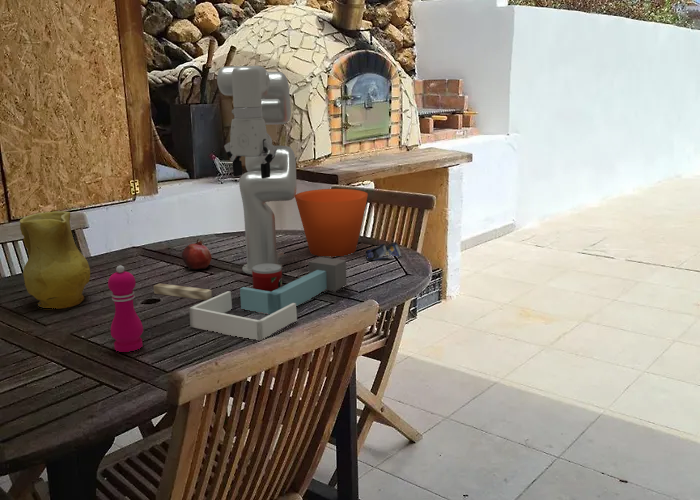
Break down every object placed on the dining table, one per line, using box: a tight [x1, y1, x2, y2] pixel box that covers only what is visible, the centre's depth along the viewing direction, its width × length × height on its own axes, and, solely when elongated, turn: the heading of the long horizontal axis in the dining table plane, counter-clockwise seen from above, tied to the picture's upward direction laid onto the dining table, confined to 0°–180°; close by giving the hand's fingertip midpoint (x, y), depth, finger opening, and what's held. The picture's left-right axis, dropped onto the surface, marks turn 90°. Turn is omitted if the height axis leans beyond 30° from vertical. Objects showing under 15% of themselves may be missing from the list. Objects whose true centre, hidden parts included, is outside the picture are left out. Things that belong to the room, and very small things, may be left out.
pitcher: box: [19, 210, 91, 310], centre depth 194 cm, size 17×19×25 cm
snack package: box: [365, 241, 402, 262], centre depth 235 cm, size 12×6×12 cm
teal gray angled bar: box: [239, 256, 347, 314], centre depth 195 cm, size 30×15×8 cm, turn 150°
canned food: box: [251, 263, 283, 292], centre depth 189 cm, size 8×8×11 cm
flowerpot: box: [294, 188, 369, 258], centre depth 243 cm, size 25×25×20 cm
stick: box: [153, 282, 213, 301], centre depth 200 cm, size 18×3×3 cm, turn 67°
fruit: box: [181, 238, 213, 271], centre depth 226 cm, size 9×10×10 cm
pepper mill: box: [107, 265, 144, 353], centre depth 161 cm, size 7×7×20 cm
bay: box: [188, 290, 298, 340], centre depth 176 cm, size 15×22×5 cm
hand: (251, 176), depth 195 cm, fingers open, 9 cm apart
